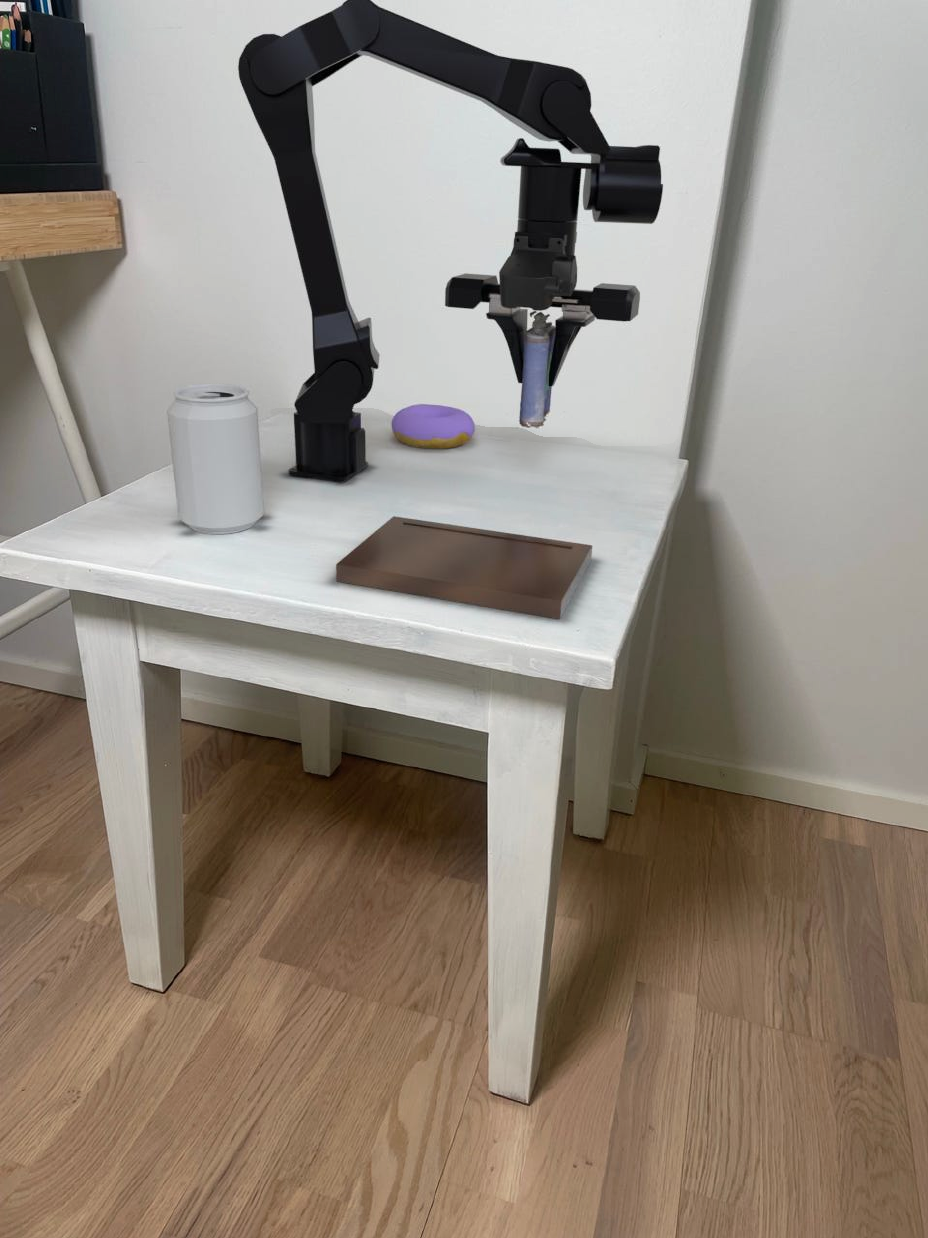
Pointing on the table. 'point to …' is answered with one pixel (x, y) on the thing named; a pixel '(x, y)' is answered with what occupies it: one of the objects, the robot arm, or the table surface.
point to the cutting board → (469, 566)
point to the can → (216, 458)
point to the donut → (432, 426)
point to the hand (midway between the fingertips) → (536, 384)
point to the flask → (536, 372)
